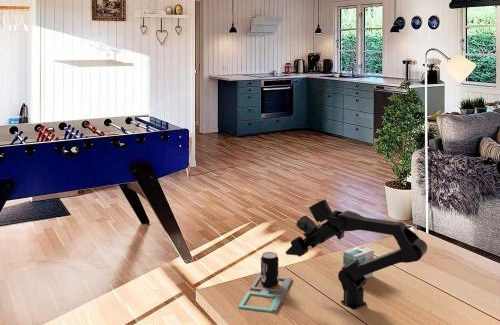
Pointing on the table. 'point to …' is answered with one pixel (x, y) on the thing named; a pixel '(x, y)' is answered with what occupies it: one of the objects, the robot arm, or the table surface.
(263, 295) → the teal square frame
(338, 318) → the table surface
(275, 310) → the strip
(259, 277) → the grey square frame
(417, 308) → the table surface
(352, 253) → the light bulb box
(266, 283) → the beverage can
